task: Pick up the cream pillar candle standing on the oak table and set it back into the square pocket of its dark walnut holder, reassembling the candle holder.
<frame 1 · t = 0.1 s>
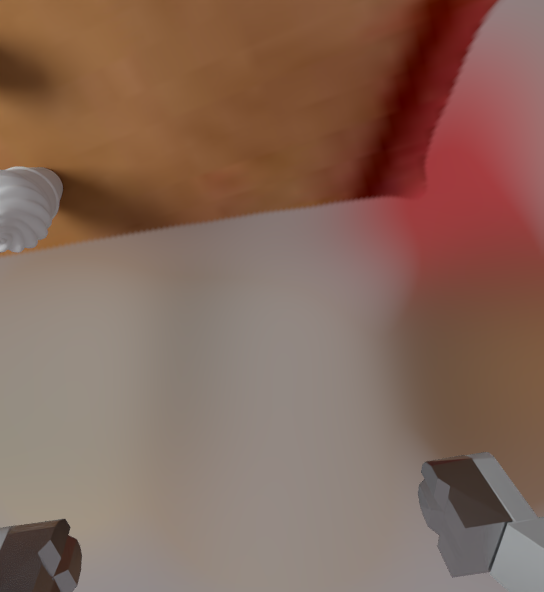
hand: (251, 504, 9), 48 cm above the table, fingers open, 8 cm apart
soft serve ice cream cone: (45, 184, 51), on the table
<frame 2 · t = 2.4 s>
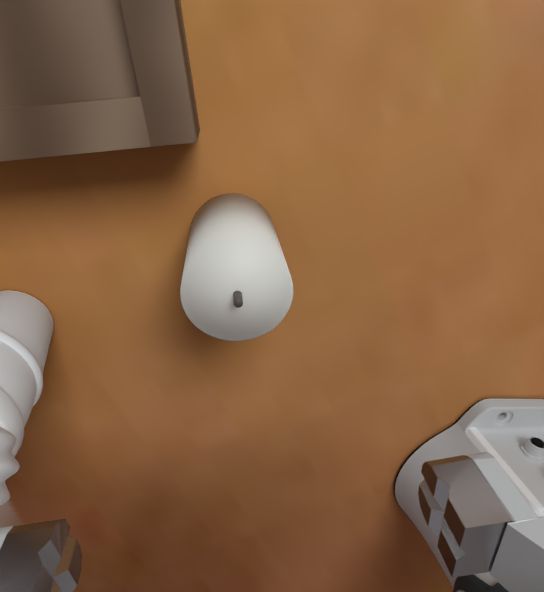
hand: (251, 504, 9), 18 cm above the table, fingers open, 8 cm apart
holder: (43, 0, 18), on the table
soft serve ice cream cone: (19, 317, 26), on the table
candle: (232, 234, 25), on the table
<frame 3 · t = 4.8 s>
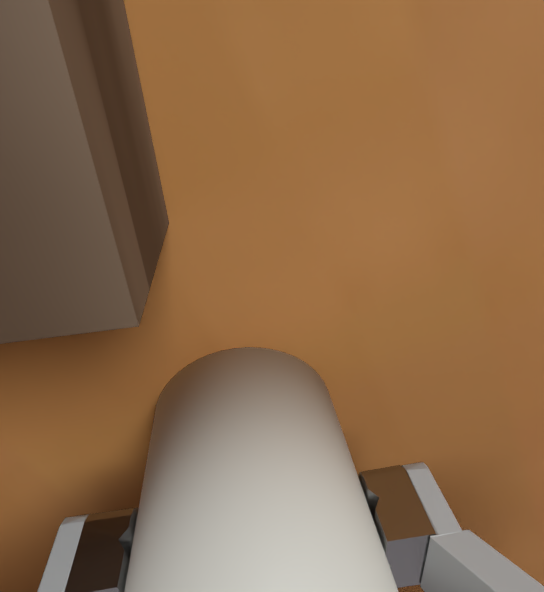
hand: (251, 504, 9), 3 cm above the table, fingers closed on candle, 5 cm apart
candle: (245, 418, 12), on the table, touching gripper
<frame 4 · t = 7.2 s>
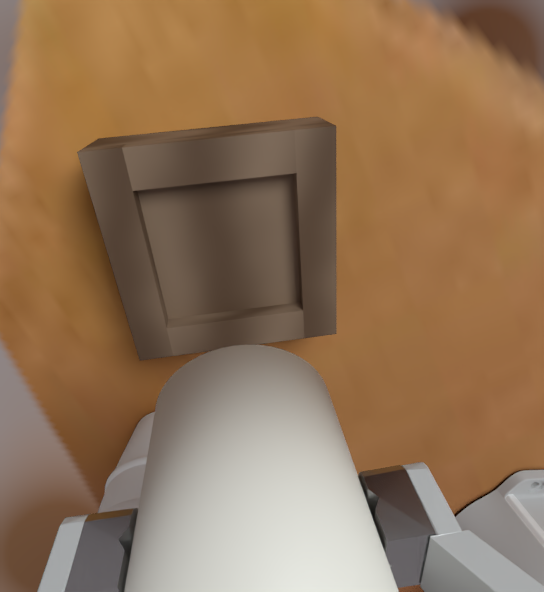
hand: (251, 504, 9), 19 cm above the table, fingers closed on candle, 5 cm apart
holder: (224, 230, 26), on the table
soft serve ice cream cone: (164, 427, 33), on the table
candle: (244, 415, 12), point 16 cm above the table, touching gripper
when the fingers open (7 cm above the table, at t = 9.6 s): candle stays where it is, resting on holder.
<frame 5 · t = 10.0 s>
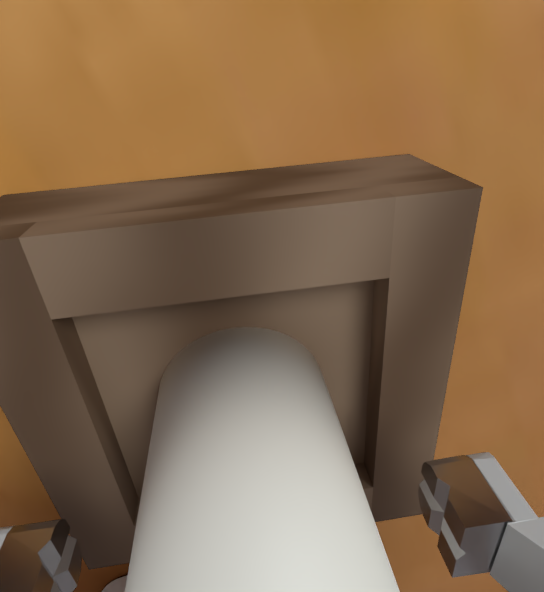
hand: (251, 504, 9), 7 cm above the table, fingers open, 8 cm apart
holder: (236, 338, 15), on the table
soft serve ice cream cone: (143, 589, 23), on the table
candle: (243, 395, 13), point 3 cm above the table, touching holder
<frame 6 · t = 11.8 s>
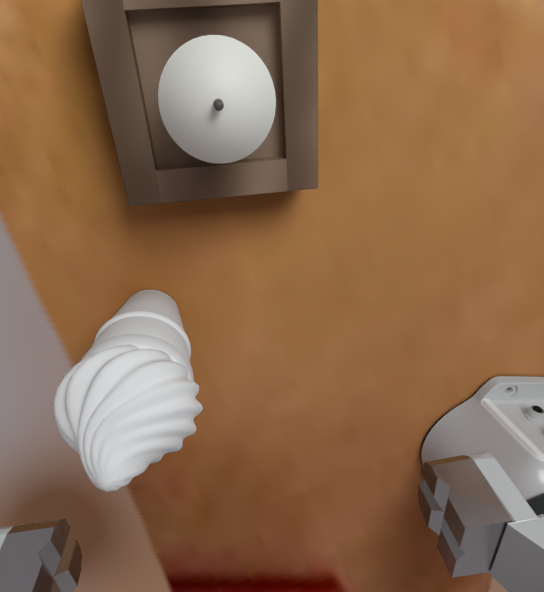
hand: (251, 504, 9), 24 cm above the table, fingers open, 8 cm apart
holder: (212, 88, 27), on the table
soft serve ice cream cone: (152, 310, 34), on the table
candle: (214, 91, 24), point 3 cm above the table, touching holder
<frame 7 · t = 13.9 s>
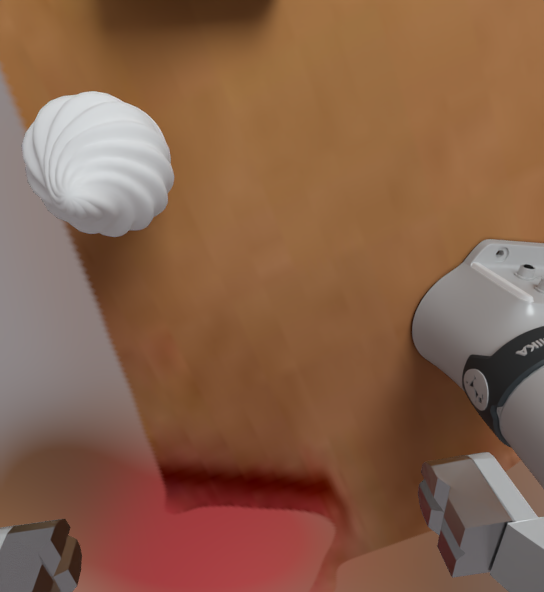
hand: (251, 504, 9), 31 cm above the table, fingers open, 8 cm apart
soft serve ice cream cone: (134, 140, 34), on the table
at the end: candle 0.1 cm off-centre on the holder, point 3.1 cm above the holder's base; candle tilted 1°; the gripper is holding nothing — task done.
